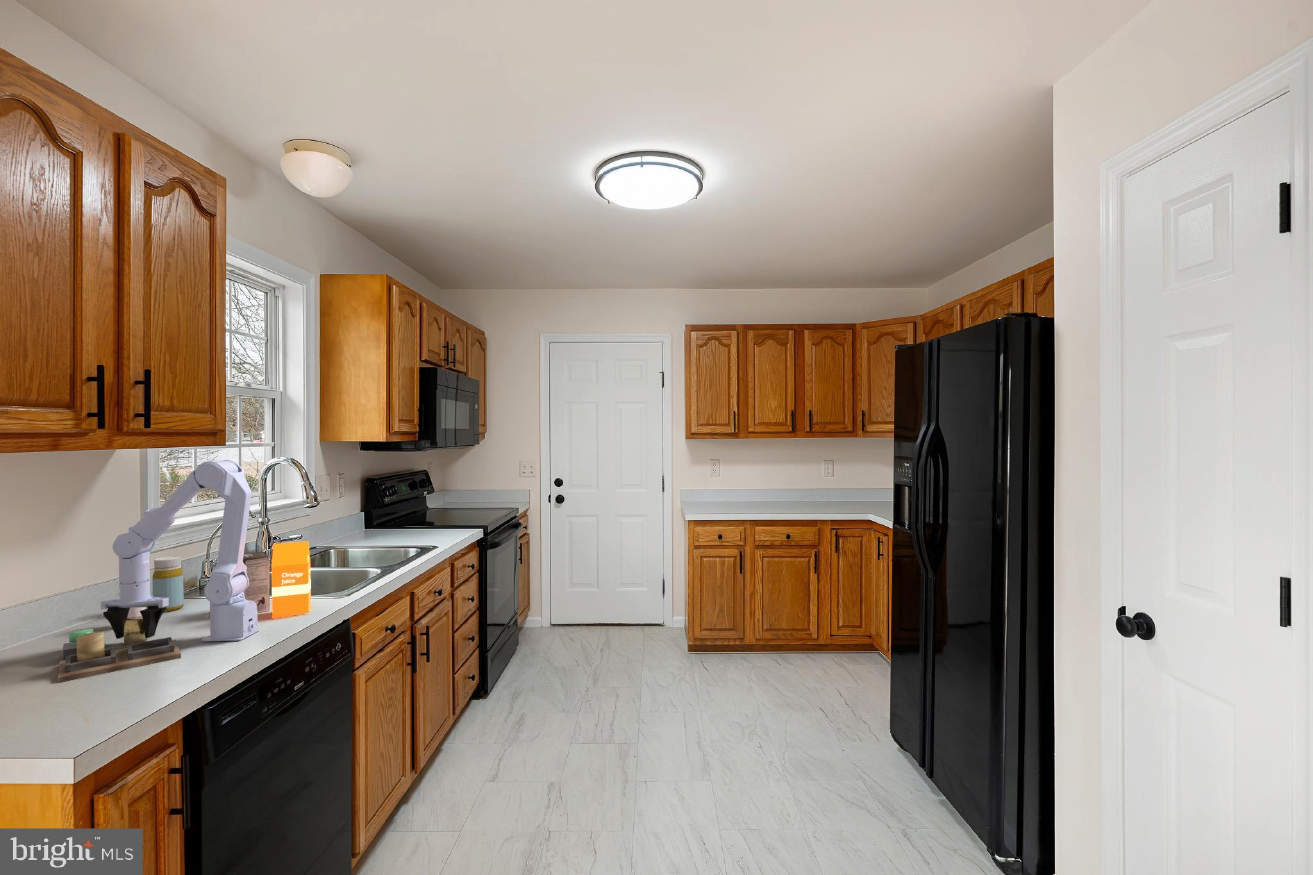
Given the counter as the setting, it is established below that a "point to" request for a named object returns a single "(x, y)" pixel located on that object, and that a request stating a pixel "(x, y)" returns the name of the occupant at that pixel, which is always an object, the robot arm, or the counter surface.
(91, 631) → the button
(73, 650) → the button box
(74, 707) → the counter surface
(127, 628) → the cylinder
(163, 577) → the bottle
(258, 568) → the coffee box
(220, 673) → the counter surface
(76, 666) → the wooden fixture board
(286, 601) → the orange juice
